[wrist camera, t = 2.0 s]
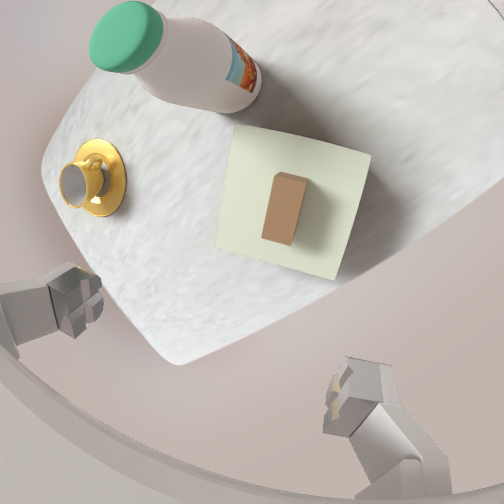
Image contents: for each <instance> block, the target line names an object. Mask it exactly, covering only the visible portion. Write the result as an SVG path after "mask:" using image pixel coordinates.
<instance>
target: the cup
mask: <svg viewBox="0 0 504 504" xmlns="http://www.w3.org/2000/svg"><path fill="white" fill-rule="evenodd" d="M95 162H96V163H95ZM103 162H105V164H106V165H107V166H108V168H109V171H110V175H111V184H110V188H109V190H108V192H107V193H106V194H105V195H104V196H102V197H96V195H97V194H98V193H99V191H100V190H101V188H102V187H103V183H104V176H103V173H102V171H101V170H100V167H101V165H102V163H103ZM93 163H95V165H94V164H93ZM125 185H126V177H125V169H124V165H123V162H122V159H121V157H120V155H119V153H118V152H117V150H116V149H115V148H114V147H113V146H112V145H111V144H110V143H109V142H107V141H105V140H102V139H92V140H89V141H87V142H86V143H84V144H83V145H82V146H81V147H80V149H79V150H78V152H77V153H76V156H75V158H74V161H73V162H71V163H68V164H66V165H65V166H64V168H63V169H62V171H61V174H60V179H59V187H60V192H61V195H62V197H63V199H64V201H65V202H66V204H67V205H69V206H70V207H72V208H79V207H81V206H82V207H83V208H84V209H85V210H86V211H87V212H89V213H90V214H92V215H94V216H98V217H104V216H108V215H110V214H112V213H113V212H114V211H115V210H116V209H117V208H118V207H119V205H120V203H121V201H122V199H123V196H124V192H125Z"/></svg>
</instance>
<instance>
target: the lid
mask: <svg viewBox="0 0 504 504" xmlns="http://www.w3.org/2000/svg"><path fill="white" fill-rule="evenodd" d="M371 157H372V155H369V154H366V153H363V152H359V151H356V150H352V149H349V148H345V147H342V146H338V145H335V144H331V143H327V142H323V141H319V140H315V139H311V138H307V137H303V136H298V135H294V134H290V133H285V132H280V131H275V130H270V129H265V128H260V127H254V126H248V125H242V124H236V123H235V124H234V130H233V135H232V141H231V146H230V152H229V158H228V164H227V169H226V175H225V181H224V188H223V194H222V200H221V207H220V213H219V220H218V226H217V233H216V240H215V248H219V249H223V250H226V251H230V252H233V253H237V254H240V255H244V256H247V257H251V258H255V259H258V260H262V261H265V262H269V263H272V264H276V265H280V266H283V267H287V268H290V269H294V270H298V271H301V272H305V273H309V274H312V275H316V276H319V277H323V278H327V279H330V280H335V277H336V275H337V272H338V269H339V266H340V263H341V260H342V257H343V254H344V251H345V248H346V245H347V242H348V239H349V236H350V232H351V229H352V226H353V223H354V219H355V216H356V213H357V209H358V206H359V202H360V199H361V195H362V192H363V188H364V184H365V180H366V177H367V173H368V169H369V165H370V161H371Z"/></svg>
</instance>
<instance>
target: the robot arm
mask: <svg viewBox="0 0 504 504" xmlns="http://www.w3.org/2000/svg"><path fill="white" fill-rule="evenodd" d="M489 1H490V2H491V3H492V4H493V5H494V7H495V8H496V9H497V10H498V11H499V12H500V14H501V15H502V16H503V18H504V0H489ZM101 287H102V283H101V278H100V277H99V276H98V275H96V274H94V273H91V272H89V271H87V270H85V269H83V268H81V267H78V266H76V265H74V264H72V263H68V262H66V263H64V264H63V265H60V266H59V267H57V268H56V269H54V270H52V271H50V272H49V273H47V274H45V275H44V276H42V277H41V278H39V279H35V278H33V279H27V280H21V281H15V282H9V283H3V284H0V504H504V483H501V484H498V485H494V486H491V487H486V488H482V489H478V490H473V491H468V492H463V493H458V494H452V485H451V477H450V470H449V464H448V458H447V456H446V455H445V454H444V453H443V451H442V450H441V449H440V448H439V447H438V445H437V444H436V443H435V442H434V441H433V439H432V438H431V437H430V436H429V435H428V433H427V432H426V431H425V430H424V429H423V427H422V426H421V425H420V424H419V423H418V421H417V420H416V419H415V418H414V417H413V416H412V414H411V413H410V412H409V411H408V410H407V408H406V407H405V406H401V405H400V401H399V395H398V390H397V384H396V378H395V373H394V368H393V366H392V365H389V364H384V363H378V362H377V363H375V362H370V361H366V360H361V359H356V358H352V357H347V356H345V357H344V359H343V360H342V362H341V364H340V366H339V367H340V368H339V373H338V374H336V375H334V376H333V378H332V380H331V383H330V385H329V388H328V391H327V395H326V402H325V404H326V405H327V407H328V408H329V409H328V410H327V412H326V414H325V415H324V424H323V433H326V434H331V435H336V436H342V437H347V438H349V441H350V443H351V445H352V447H353V449H354V451H355V453H356V454H357V457H358V458H359V460H360V462H361V464H362V466H363V468H364V470H365V472H366V474H367V476H368V478H369V480H370V482H371V485H370V486H368V487H367V488H365V489H364V490H362V491H361V492H360V493H358V494H357V495H355V499H340V498H329V497H320V496H313V495H306V494H299V493H293V492H288V491H282V490H277V489H272V488H268V487H263V486H259V485H255V484H251V483H247V482H243V481H239V480H236V479H233V478H229V477H226V476H223V475H220V474H216V473H214V472H211V471H208V470H205V469H202V468H199V467H196V466H194V465H191V464H188V463H186V462H183V461H181V460H178V459H176V458H173V457H171V456H169V455H166V454H164V453H162V452H159V451H157V450H155V449H153V448H151V447H149V446H147V445H145V444H143V443H141V442H138V441H137V440H135V439H133V438H131V437H129V436H127V435H125V434H123V433H121V432H119V431H117V430H116V429H114V428H112V427H111V426H109V425H107V424H105V423H104V422H102V421H100V420H98V419H97V418H95V417H93V416H92V415H90V414H89V413H87V412H86V411H84V410H83V409H81V408H80V407H78V406H76V405H75V404H74V403H72V402H71V401H69V400H68V399H66V398H65V397H64V396H62V395H61V394H59V393H58V392H57V391H55V390H54V389H53V388H51V387H50V386H49V385H47V384H46V383H45V382H44V381H42V380H41V379H40V378H39V377H37V376H36V375H35V374H34V373H32V372H31V371H30V370H29V369H28V368H26V367H25V366H24V365H23V364H22V363H21V362H20V361H18V359H19V358H20V353H19V351H18V349H17V345H20V344H23V343H26V342H28V341H31V340H34V339H37V338H39V337H42V336H45V335H48V334H51V333H53V332H56V331H58V329H59V330H60V331H62V332H64V333H65V334H67V335H69V336H71V337H72V338H74V339H75V338H77V337H78V336H79V335H80V334H81V333H82V332H83V331H84V330H86V328H87V323H91V322H94V321H96V320H97V319H98V318H99V317H100V315H101V313H102V311H103V305H104V302H103V297H102V295H101V293H100V289H101Z"/></svg>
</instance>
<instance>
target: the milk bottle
mask: <svg viewBox="0 0 504 504" xmlns="http://www.w3.org/2000/svg"><path fill="white" fill-rule="evenodd" d="M89 52H90V57H91V60H92V62H93V63H94V64H95V65H96V66H97V67H98V68H100V69H102V70H105V71H109V72H116V73H121V74H134V75H135V77H136V78H137V80H138V81H139V83H140V84H141V85H142V86H143V87H144V89H146V90H147V91H148V92H149V93H150V94H152V95H153V96H155V97H157V98H159V99H161V100H163V101H166V102H169V103H173V104H177V105H181V106H186V107H191V108H197V109H202V110H207V111H212V112H217V113H234V112H238V111H240V110H242V109H244V108H246V107H247V106H249V105H250V104H251V103H252V102H253V101H254V100H255V98H256V97H257V95H258V93H259V91H260V88H261V83H262V77H261V72H260V69H259V67H258V65H257V64H256V63H255V61H254V60H253V59H252V58H251V57H250V56H249V55H248V54H247V53H246V52H245V51H244V50H243V49H242V48H241V47H240V46H239V45H238V44H237V43H235V42H234V41H233V40H232V39H231V38H230V37H229V36H228V35H226V34H225V33H224V32H223V31H221V30H220V29H219V28H217V27H216V26H214V25H212V24H210V23H208V22H206V21H204V20H200V19H197V18H191V17H175V18H166V17H165V16H164V15H163V14H162V13H161V12H159V11H157V10H155V9H154V8H152V7H151V6H149V5H147V4H145V3H142V2H138V1H128V2H124V3H121V4H119V5H117V6H115V7H113V8H112V9H111V10H109V11H108V12H107V13H106V14H105V15H104V16H103V17H102V18H101V20H100V21H99V22H98V24H97V25H96V27H95V29H94V31H93V34H92V36H91V40H90V45H89Z"/></svg>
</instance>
